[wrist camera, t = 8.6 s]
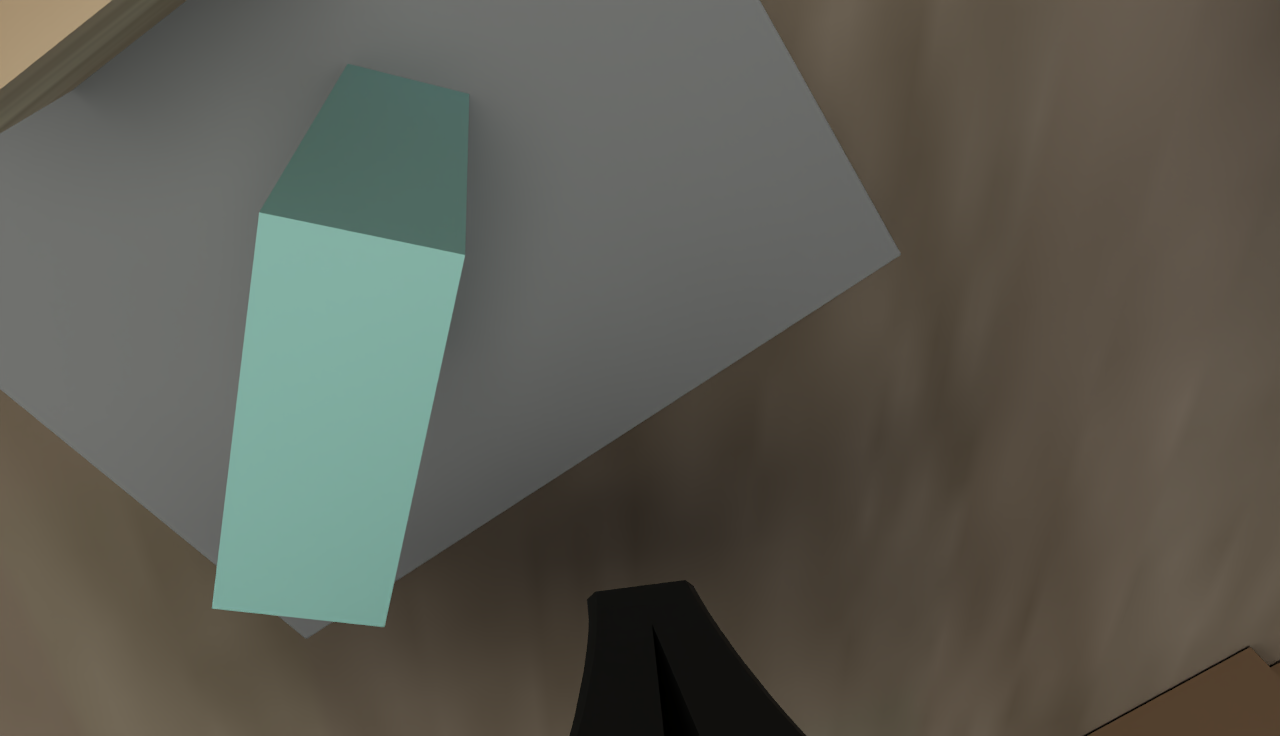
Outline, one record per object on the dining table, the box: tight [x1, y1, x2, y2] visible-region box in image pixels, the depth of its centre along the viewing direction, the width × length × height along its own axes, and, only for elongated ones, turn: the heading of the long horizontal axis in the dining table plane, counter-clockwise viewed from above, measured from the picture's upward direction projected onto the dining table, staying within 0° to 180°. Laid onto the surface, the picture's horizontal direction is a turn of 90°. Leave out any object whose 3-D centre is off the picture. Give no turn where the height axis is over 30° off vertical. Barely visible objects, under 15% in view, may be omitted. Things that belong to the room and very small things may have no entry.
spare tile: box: [212, 64, 469, 627], centre depth 11 cm, size 2×4×6 cm, turn 164°
